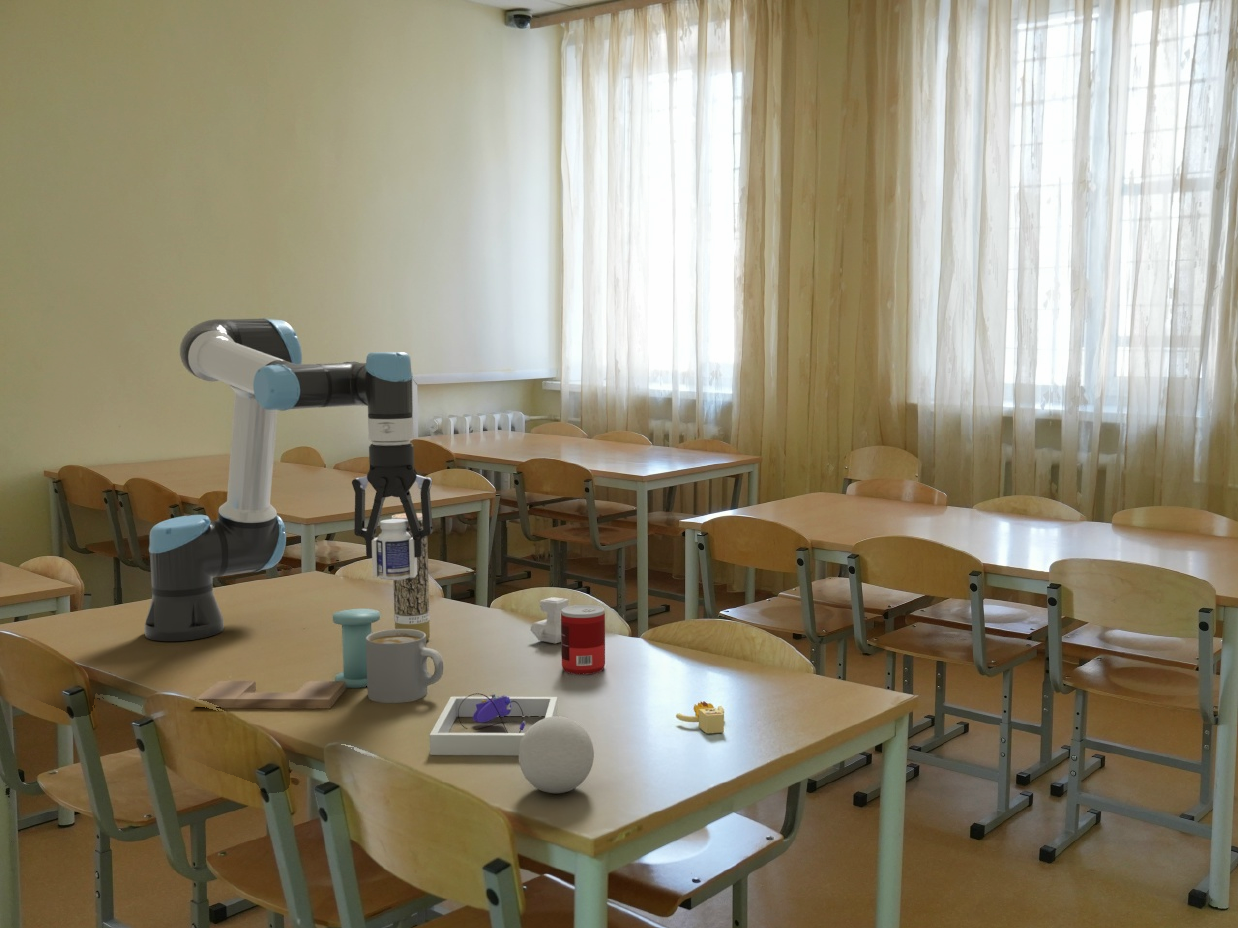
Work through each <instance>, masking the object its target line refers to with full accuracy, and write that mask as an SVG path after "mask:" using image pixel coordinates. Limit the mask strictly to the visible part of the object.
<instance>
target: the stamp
mask: <svg viewBox="0 0 1238 928" xmlns="http://www.w3.org/2000/svg"><path fill="white" fill-rule="evenodd" d="M569 602H570V599H568V598H561V597H554V596H551V597H548V598H544V599H541V600H540V601H539V605H540V606H539V607H540V610H541V612H543V613H546V615H547V616H546V617H547V618H545V619H542V620H538V621H535V622H533V623H532V624H531V626H530V631H531V633H532V634H533V635H534V636H535V638H536V639H537V640H538V641H541V642H545V643H550V644H557V643H561V610H562V609H563V608H565V607H568V606H569Z"/></svg>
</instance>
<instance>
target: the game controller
mask: <svg viewBox="0 0 1238 928" xmlns="http://www.w3.org/2000/svg"><path fill="white" fill-rule="evenodd" d="M473 695H481V696H483V697H487V698H488V699H489V700H488V701H487V700H483V701H481V703H479V704H476V707H477V710H476V712H475V713H474V715H473V717H472V720H473V722H478V723H486V722H490V721H492V720H493V719H495V718H498V717H497V716H500V717H499V718H500V721H501V722H498V723H495V724H490V725H487V726H484V727H479V728H475V730H477V729H478V730H483V729H486V728H490V727H493V726H495V725H499V724H502V725H503V727H504V730H505V733H509V732H508V729H507V728H506V726H505V723H507V721H503V719H502V718H505V717H504V716H507V715H508V714H509V713H510V711H511V709H512V707H511V702H516V701H511V702H510V698H509V697H510V696H507V695H501V696H499V695H498V696H497V693H491V694H490V695H489V696H487V695H486V694H482V693H478V692H477V693H472V694H470V695H468V696H465V697H466V698H467V697H472V696H473ZM489 697H492V698H491V699H490V698H489ZM466 698H465V699H466ZM465 699H464V700H465ZM464 700H463V701H464ZM463 701H462V702H463ZM462 702H461V703H462ZM516 703H517V702H516ZM517 704H518V703H517ZM460 705H461V704H460ZM518 705H519V704H518ZM519 707H520V705H519ZM459 708H460V706H459ZM520 709H521V707H520ZM521 711H522V709H521ZM522 714H523V712H522ZM457 718H458V721H459V723H460V725H461V726H462V727H463V728H464V729H466V730H468V729H469V728H468V727H466V726H464V725H463V723H462V722H461V719H460V717H459V710H458V717H457ZM522 720H523V721H522V722H521V724H520V726H519V730H520V731H519V732H518V733H522V731H523V730H524V728H525V725H526V720H524V719H522ZM517 721H518V720H517ZM517 721H512V720H511V723H514V722H517Z"/></svg>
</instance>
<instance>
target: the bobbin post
mask: <svg viewBox="0 0 1238 928" xmlns="http://www.w3.org/2000/svg"><path fill="white" fill-rule="evenodd" d="M380 618H381V613H380V611H378V610H377V609H372V608H351V609H344V610H339V611H337V612H334V613H333V614H332V622H333V623H334V624H335V625H341V639H342V640H341V641H342V663H343V664H342V665H343V666H342V667H343V669H342V670H343V671H340V672H339V673H337V674H336V675H335V676H334V681H345V687H346V688H347V689H359V688H361V689H362V688H366V686H367V658H366V637H367V636H368V635H370V634H372V633H373V631H372V624H373V623H377V622H378V621H379V620H381V619H380ZM346 688H345V689H346Z"/></svg>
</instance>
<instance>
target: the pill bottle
mask: <svg viewBox="0 0 1238 928" xmlns="http://www.w3.org/2000/svg"><path fill="white" fill-rule="evenodd" d="M407 527H408V521H407V520H405V519H392V518H389V519H383V520H379V528H380V530H381V532H380V533H379V534H378V535H377V538H378V539H377V542H378V574H379V576H378V577H379V578H380V579H381V580H386V581H393V580H401V579H406V578H409V577H410V559H409V540H410V539H411V536H410V534H409V533H408V532H407V531H406V528H407Z"/></svg>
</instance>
